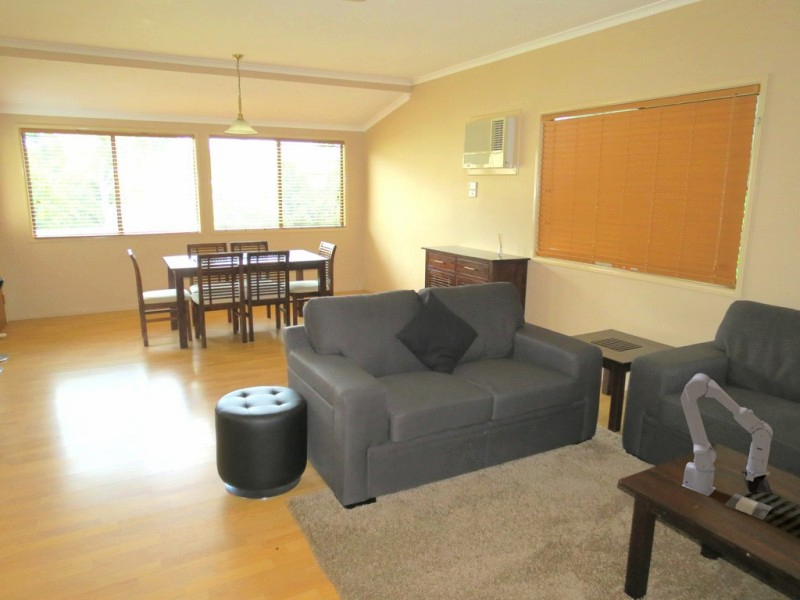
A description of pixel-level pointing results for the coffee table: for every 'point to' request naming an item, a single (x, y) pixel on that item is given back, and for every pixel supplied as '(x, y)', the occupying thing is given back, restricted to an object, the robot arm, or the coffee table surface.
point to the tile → (746, 506)
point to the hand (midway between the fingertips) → (752, 492)
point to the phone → (763, 486)
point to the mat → (758, 513)
